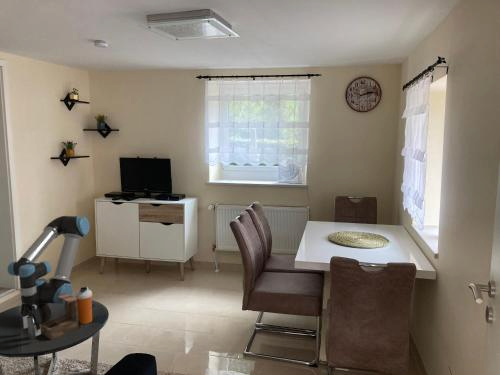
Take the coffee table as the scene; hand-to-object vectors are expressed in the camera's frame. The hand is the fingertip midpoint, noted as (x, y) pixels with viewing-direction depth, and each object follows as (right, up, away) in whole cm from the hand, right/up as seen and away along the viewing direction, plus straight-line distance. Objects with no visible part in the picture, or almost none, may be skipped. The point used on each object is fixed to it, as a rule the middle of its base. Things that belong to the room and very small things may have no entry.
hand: (32, 331), depth 221 cm
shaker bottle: (+21, -1, +19) cm, 29 cm away
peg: (0, -4, +1) cm, 4 cm away
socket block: (+11, -3, +8) cm, 14 cm away
